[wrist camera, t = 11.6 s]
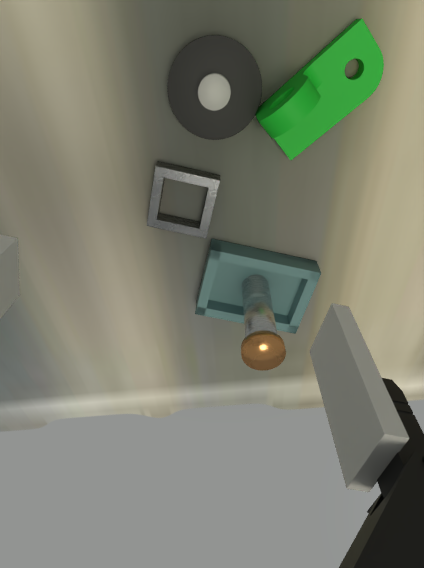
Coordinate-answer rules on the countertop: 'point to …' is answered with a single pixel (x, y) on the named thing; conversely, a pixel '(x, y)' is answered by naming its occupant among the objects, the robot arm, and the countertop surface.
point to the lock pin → (260, 326)
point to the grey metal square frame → (186, 176)
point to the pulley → (214, 87)
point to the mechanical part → (323, 91)
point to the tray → (249, 261)
